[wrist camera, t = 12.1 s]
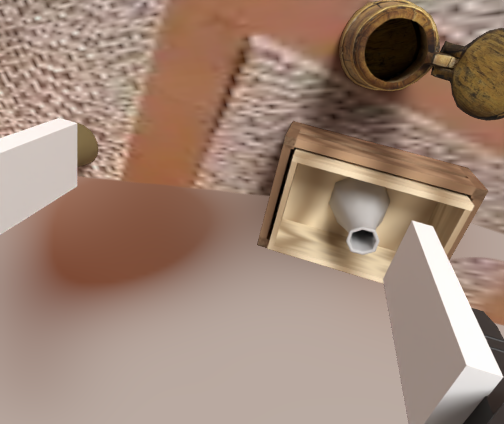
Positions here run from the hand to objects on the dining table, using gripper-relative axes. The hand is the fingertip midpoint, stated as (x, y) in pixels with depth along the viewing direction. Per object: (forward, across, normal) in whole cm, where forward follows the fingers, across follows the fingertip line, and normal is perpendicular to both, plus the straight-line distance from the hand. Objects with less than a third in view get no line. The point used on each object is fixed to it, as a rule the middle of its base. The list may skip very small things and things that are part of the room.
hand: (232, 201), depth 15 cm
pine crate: (+33, +11, -12) cm, 37 cm away
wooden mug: (+34, +10, +6) cm, 35 cm away
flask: (+31, +11, -11) cm, 35 cm away
